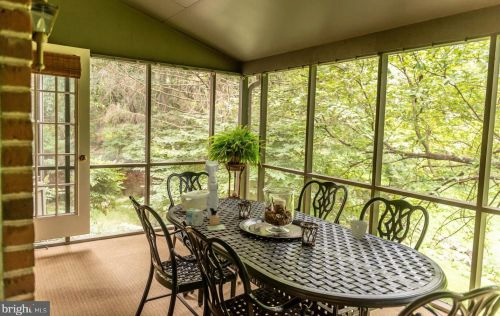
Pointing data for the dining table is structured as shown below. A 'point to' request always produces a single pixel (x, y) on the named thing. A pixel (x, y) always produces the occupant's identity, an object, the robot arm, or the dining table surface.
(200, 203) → the storage basket
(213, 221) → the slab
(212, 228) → the mat
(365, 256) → the dining table surface
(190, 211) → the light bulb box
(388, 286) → the dining table surface
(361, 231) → the teacup
